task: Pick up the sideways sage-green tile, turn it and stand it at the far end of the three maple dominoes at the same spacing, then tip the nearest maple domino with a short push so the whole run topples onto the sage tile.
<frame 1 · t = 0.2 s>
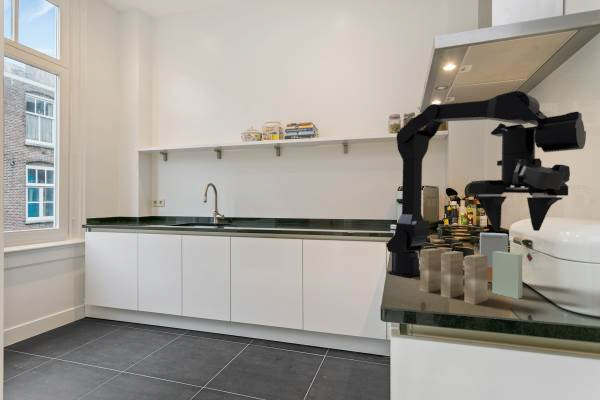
hand: (516, 230, 68), 14 cm above the counter, tool pointing down, fingers open, 9 cm apart
maple tile 3: (475, 301, 66), on the counter
maple tile 2: (452, 295, 70), on the counter
skincare box: (493, 282, 82), on the counter
maple tile 1: (430, 289, 74), on the counter
sage tile: (506, 295, 70), on the counter
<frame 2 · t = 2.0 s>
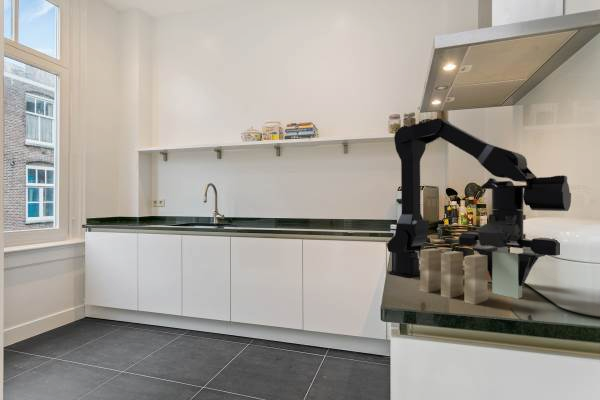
hand: (506, 283, 70), 3 cm above the counter, tool pointing down, fingers closed on sage tile, 5 cm apart
sage tile: (506, 295, 70), on the counter, touching gripper
everything else where it was.
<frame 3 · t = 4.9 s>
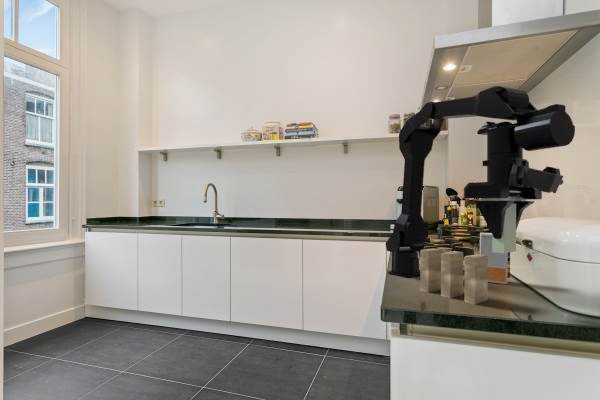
hand: (504, 237, 62), 13 cm above the counter, tool pointing down, fingers closed on sage tile, 5 cm apart
sage tile: (504, 251, 62), point 10 cm above the counter, touching gripper
everything else where it was.
when the fingers open (4 cm above the counter, at t = 7.6 s): sage tile stays where it is, on the counter.
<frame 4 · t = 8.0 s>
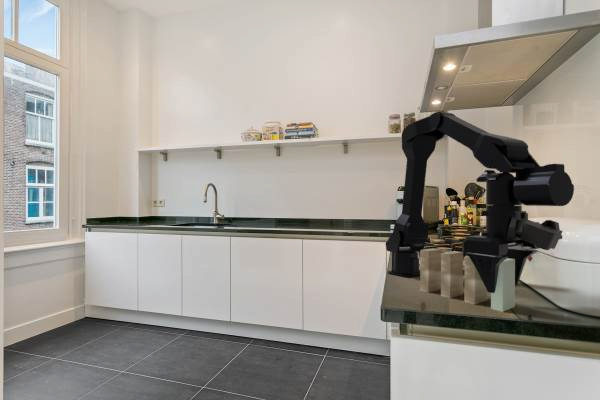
hand: (503, 288, 62), 4 cm above the counter, tool pointing down, fingers open, 9 cm apart
sage tile: (502, 307, 61), on the counter
everything else where it was.
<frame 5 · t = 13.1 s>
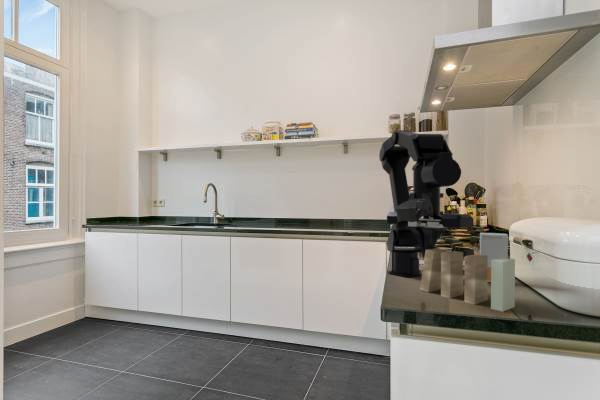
hand: (426, 257, 75), 7 cm above the counter, tool pointing down, fingers closed
maple tile 1: (430, 289, 74), on the counter, tilted 8°
everything else where it was.
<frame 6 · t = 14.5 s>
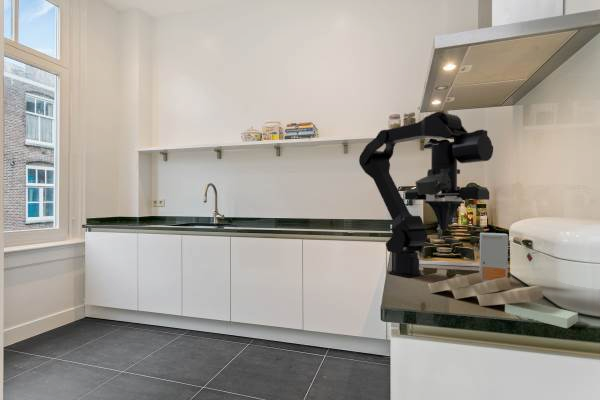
hand: (443, 230, 79), 13 cm above the counter, tool pointing down, fingers closed
maple tile 3: (485, 298, 64), point 1 cm above the counter, tilted 70°, touching maple tile 2, sage tile
maple tile 2: (460, 292, 68), point 1 cm above the counter, tilted 67°, touching maple tile 1, maple tile 3
maple tile 1: (436, 286, 73), point 1 cm above the counter, tilted 68°, touching maple tile 2
sage tile: (511, 306, 60), on the counter, tilted 90°, touching maple tile 3
everything else where it was.
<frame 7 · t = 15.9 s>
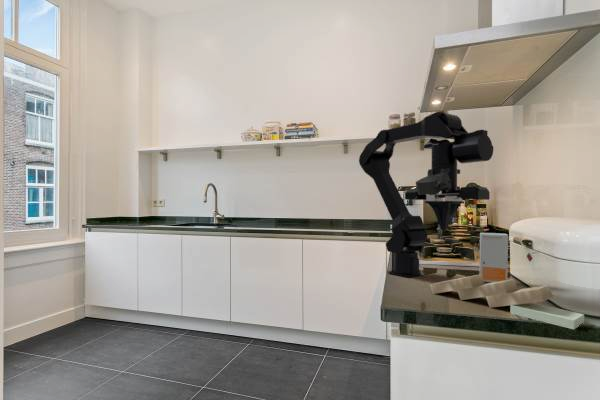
hand: (443, 230, 79), 13 cm above the counter, tool pointing down, fingers closed
maple tile 3: (493, 299, 63), point 1 cm above the counter, tilted 69°, touching maple tile 2, sage tile
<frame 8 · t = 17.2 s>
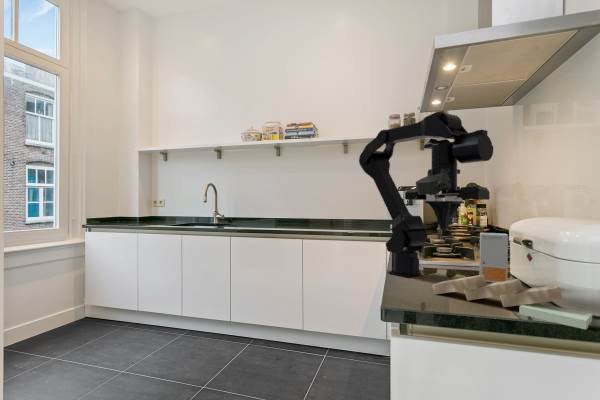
hand: (443, 230, 79), 13 cm above the counter, tool pointing down, fingers closed
maple tile 3: (503, 299, 63), point 1 cm above the counter, tilted 71°, touching sage tile
maple tile 2: (469, 293, 67), point 1 cm above the counter, tilted 69°
maple tile 1: (438, 287, 72), point 1 cm above the counter, tilted 70°
sage tile: (523, 309, 60), on the counter, tilted 90°, touching maple tile 3
everything else where it was.
at the end: sage tile tilted 90°; sage tile inside the target area (1.9 cm from its centre), on the counter; maple tile 1 tilted 70° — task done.
